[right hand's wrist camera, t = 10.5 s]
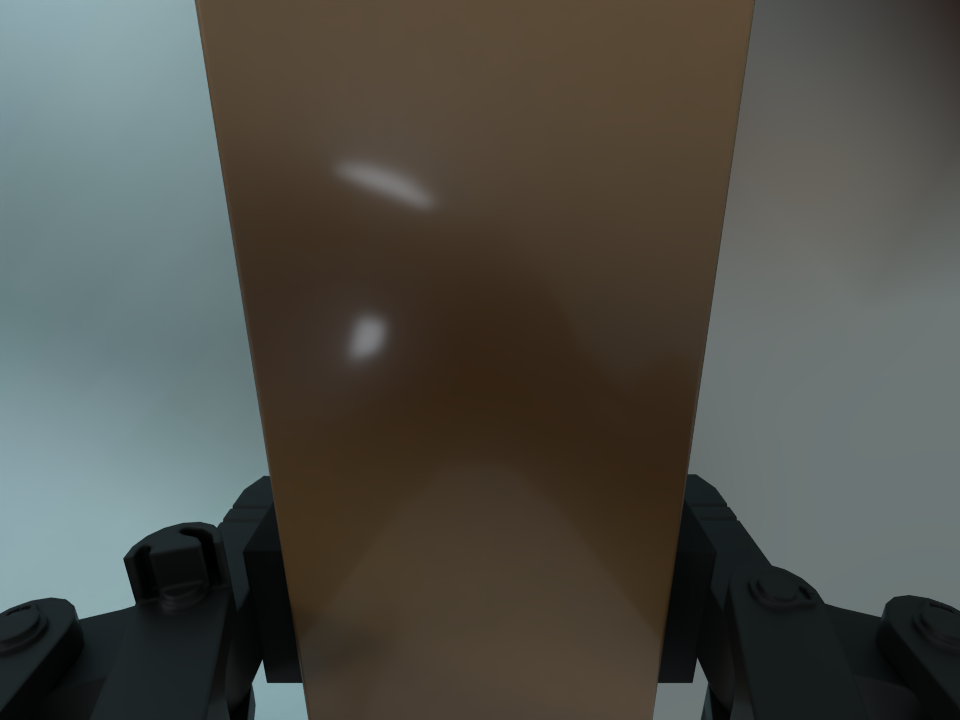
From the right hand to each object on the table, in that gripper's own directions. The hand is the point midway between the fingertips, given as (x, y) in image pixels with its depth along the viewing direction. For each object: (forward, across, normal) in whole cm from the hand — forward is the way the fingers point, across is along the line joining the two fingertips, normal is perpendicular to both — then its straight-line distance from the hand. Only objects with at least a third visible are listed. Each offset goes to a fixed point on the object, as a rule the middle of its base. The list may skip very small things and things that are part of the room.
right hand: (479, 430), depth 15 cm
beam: (+1, 0, -27) cm, 27 cm away
